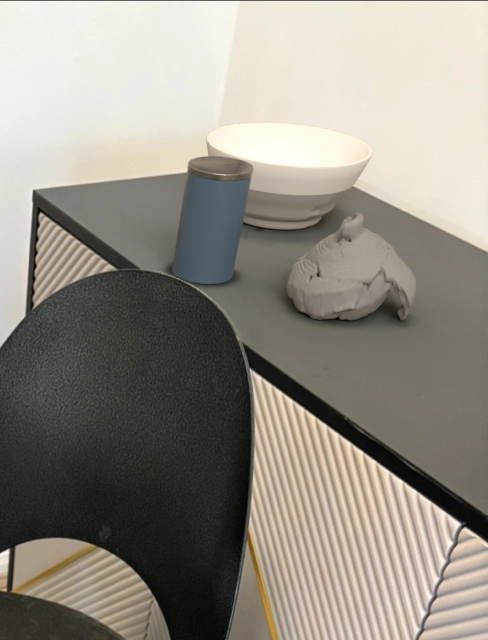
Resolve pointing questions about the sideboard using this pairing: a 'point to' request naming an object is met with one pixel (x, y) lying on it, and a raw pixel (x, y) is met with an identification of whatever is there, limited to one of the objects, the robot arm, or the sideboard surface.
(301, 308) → the grey clay mound
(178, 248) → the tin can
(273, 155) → the bowl
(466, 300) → the sideboard surface
